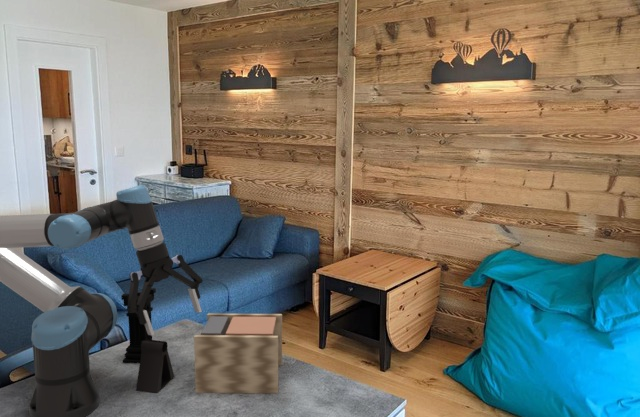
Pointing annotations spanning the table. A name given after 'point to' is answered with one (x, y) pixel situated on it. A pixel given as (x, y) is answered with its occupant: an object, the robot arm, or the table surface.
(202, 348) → the frame
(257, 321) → the trapdoor
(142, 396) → the table surface
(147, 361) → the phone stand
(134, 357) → the chess piece
